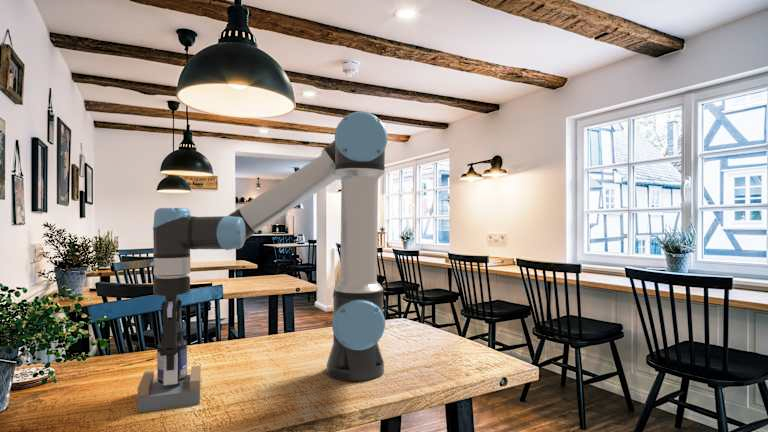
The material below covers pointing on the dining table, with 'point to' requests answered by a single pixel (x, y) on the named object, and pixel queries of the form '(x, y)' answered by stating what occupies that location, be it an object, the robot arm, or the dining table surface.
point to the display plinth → (168, 392)
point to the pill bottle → (181, 358)
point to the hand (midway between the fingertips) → (171, 378)
